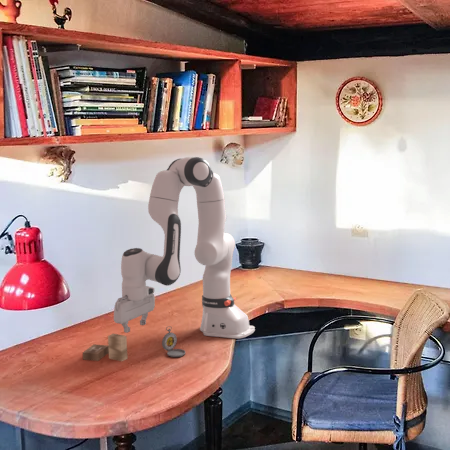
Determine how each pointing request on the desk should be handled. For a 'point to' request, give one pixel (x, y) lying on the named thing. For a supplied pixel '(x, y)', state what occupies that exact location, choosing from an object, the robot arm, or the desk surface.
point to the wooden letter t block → (117, 347)
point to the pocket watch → (171, 345)
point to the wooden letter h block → (95, 352)
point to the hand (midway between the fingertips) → (135, 328)
